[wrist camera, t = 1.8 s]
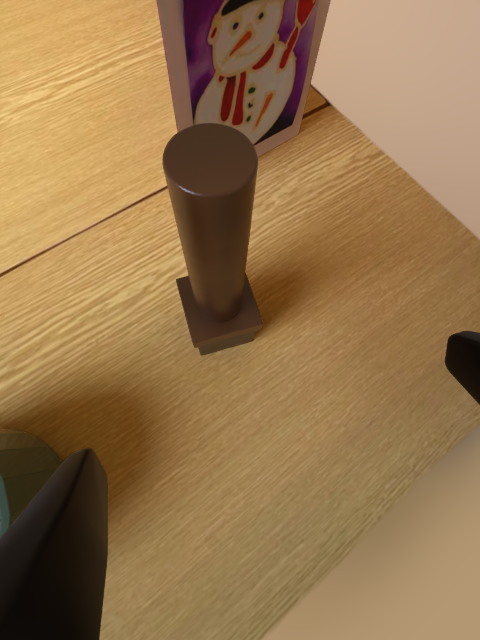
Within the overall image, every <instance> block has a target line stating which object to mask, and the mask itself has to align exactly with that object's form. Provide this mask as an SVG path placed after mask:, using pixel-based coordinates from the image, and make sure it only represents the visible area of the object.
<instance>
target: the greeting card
mask: <svg viewBox="0 0 480 640" xmlns="http://www.w3.org/2000/svg"><path fill="white" fill-rule="evenodd" d="M329 4H330V0H157V6H158V12H159V19H160V25H161V31H162V37H163V44H164V50H165V56H166V62H167V69H168V75H169V81H170V87H171V94H172V100H173V106H174V112H175V119H176V125H177V131H178V132H180V131H181V130H183V129H185V128H187V127H190V126H192V125H196V124H202V123H217V124H223V125H227V126H230V127H232V128H235V129H237V130H238V131H240V132H241V133H243V134H244V135H245V136H246V137H247V138H248V139H249V140H250V141H251V142H252V144H253V146H254V148H255V150H256V153H257V157H259V156H261V155H263V154H264V153H266V152H268V151H270V150H272V149H273V148H275V147H277V146H279V145H281V144H282V143H284V142H286V141H288V140H290V139H291V138H293V137H295V136H297V135H298V134H299V129H300V125H301V121H302V117H303V113H304V109H305V104H306V100H307V96H308V92H309V88H310V84H311V79H312V75H313V71H314V67H315V63H316V58H317V54H318V50H319V46H320V42H321V38H322V34H323V30H324V26H325V21H326V17H327V13H328V9H329Z"/></svg>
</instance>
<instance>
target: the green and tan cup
mask: <svg viewBox="0 0 480 640" xmlns="http://www.w3.org/2000/svg"><path fill="white" fill-rule="evenodd" d="M61 464H62V462H61V461H60V459H59V457H58V456H57V454H56V453H55V452H54V451H53V449H52V448H51V447H49V446H48V445H47V444H46V443H45V442H44V441H42V440H41V439H39V438H38V437H36V436H34V435H31V434H29V433H26V432H23V431H19V430H12V429H5V428H0V538H1V537H2V535H3V534H4V533H5V532H6V531H7V529H8V528H9V527H10V526H11V525H12V523H13V522H14V521H15V520H16V519H17V517H18V516H19V515H20V514H21V512H22V511H23V510H24V509H25V508H26V506H27V505H28V504H29V503H30V502H31V500H32V499H33V498H34V497H35V495H36V494H37V493H38V492H39V491H40V489H41V488H42V487H43V486H44V485H45V483H46V482H47V481H48V480H49V479H50V477H51V476H52V475H53V474H54V472H55V471H56V470H57V469H58V468H59V466H60V465H61Z"/></svg>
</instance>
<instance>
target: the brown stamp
mask: <svg viewBox="0 0 480 640" xmlns="http://www.w3.org/2000/svg"><path fill="white" fill-rule="evenodd" d="M257 168H258V157H257V153H256V150H255V148H254V146H253V144H252V142H251V141H250V140H249V139H248V138H247V137H246V136H245V135H244V134H243V133H241V132H240V131H238V130H237V129H235V128H232V127H230V126H227V125H223V124H217V123H202V124H196V125H192V126H190V127H187V128H185V129H183V130H181V131H180V132H178V133H177V134H176V135H174V136H173V137H172V138H171V139H170V141H169V142H168V144H167V146H166V148H165V150H164V154H163V169H164V173H165V177H166V181H167V186H168V190H169V194H170V198H171V202H172V207H173V211H174V215H175V219H176V224H177V228H178V232H179V236H180V240H181V245H182V249H183V253H184V257H185V262H186V266H187V270H188V274H189V276H187V277H183V278H179V279H176V282H177V286H178V290H179V293H180V297H181V301H182V305H183V308H184V312H185V316H186V320H187V323H188V327H189V331H190V335H191V338H192V342H193V345H194V347H195V348H196V347H198V348H199V351H200V354H201V355H206V354H209V353H213V352H216V351H219V350H223V349H226V348H230V347H233V346H237V345H240V344H244V343H247V342H251V341H253V339H254V335H255V332H256V330H260V329H261V328H262V325H263V322H262V319H261V316H260V313H259V310H258V307H257V304H256V301H255V298H254V296H253V293H252V290H251V287H250V284H249V281H248V278H247V275H246V272H245V270H246V262H247V253H248V245H249V236H250V228H251V219H252V211H253V202H254V194H255V185H256V177H257Z"/></svg>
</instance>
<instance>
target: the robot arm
mask: <svg viewBox="0 0 480 640" xmlns="http://www.w3.org/2000/svg"><path fill="white" fill-rule="evenodd" d="M445 365H446V367H447V369H448V371H449V372H450V373H451V374H452V375H453V376H454V377H455V378H456V379H457V381H458V382H459V383H460V384H461V385H462V386H463V387H464V388H465V389H466V390H467V391H468V393H469V394H470V395H471V396H472V397H473V398H474V399H475V400H476V401H477V402H478V404H479V405H480V333H478V332H472V331H462V332H459V333H456V334H453V335H451V336H450V337H449V338H448V342H447V349H446V357H445ZM107 555H108V482H107V475H106V472H105V470H104V468H103V466H102V465H101V463H100V461H99V459H98V457H97V455H96V454H95V452H94V450H93V449H91V448H85V449H82V450H79V451H75V452H73V453H71V454H70V455H69V456H68V457H67V458H66V459H65V460H64V462H63V463H62V464H61V465H60V466H59V468H58V469H57V470H56V471H55V472H54V474H53V475H52V476H51V477H50V479H49V480H48V481H47V482H46V483H45V485H44V486H43V487H42V488H41V489H40V491H39V492H38V493H37V494H36V495H35V497H34V498H33V499H32V500H31V502H30V503H29V504H28V505H27V506H26V508H25V509H24V510H23V511H22V512H21V514H20V515H19V516H18V517H17V519H16V520H15V521H14V522H13V523H12V525H11V526H10V527H9V528H8V529H7V531H6V532H5V533H4V534H3V535H2V537H1V538H0V640H99V636H100V626H101V617H102V607H103V597H104V587H105V578H106V568H107Z"/></svg>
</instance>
